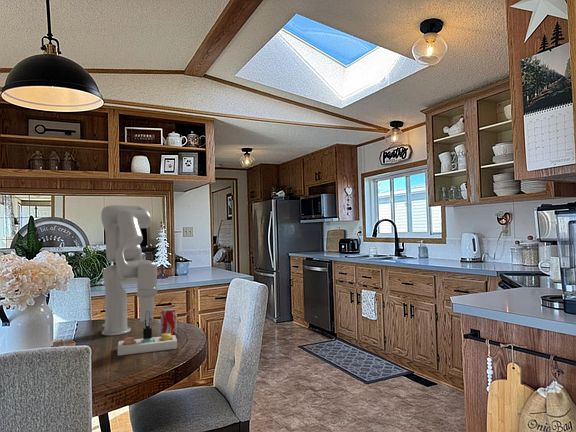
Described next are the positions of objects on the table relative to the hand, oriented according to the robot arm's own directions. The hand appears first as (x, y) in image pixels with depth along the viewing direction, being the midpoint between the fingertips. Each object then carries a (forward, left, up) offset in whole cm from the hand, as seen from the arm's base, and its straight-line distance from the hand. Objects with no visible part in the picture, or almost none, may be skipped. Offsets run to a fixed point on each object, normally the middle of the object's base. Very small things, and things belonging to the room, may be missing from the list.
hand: (147, 338), depth 161 cm
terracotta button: (-4, -6, -2) cm, 7 cm away
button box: (0, 0, -4) cm, 4 cm away
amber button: (+5, +5, -2) cm, 8 cm away
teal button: (0, 0, -3) cm, 3 cm away
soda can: (-7, +18, -4) cm, 20 cm away
